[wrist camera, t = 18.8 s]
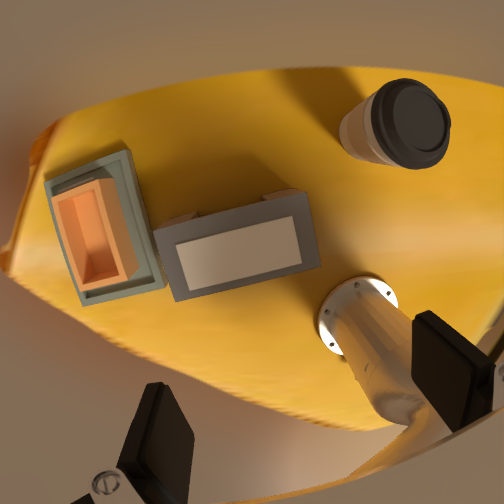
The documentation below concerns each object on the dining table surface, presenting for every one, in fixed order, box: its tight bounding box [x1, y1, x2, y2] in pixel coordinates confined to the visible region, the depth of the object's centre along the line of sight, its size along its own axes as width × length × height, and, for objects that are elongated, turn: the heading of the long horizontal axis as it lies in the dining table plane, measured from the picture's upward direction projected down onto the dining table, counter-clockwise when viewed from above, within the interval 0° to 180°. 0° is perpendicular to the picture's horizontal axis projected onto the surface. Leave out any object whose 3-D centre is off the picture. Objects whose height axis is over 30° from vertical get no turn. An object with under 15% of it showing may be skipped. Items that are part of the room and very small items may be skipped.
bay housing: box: [153, 188, 321, 302], centre depth 35 cm, size 16×8×8 cm, turn 104°
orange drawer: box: [51, 177, 140, 292], centre depth 35 cm, size 13×7×5 cm, turn 13°
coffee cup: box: [339, 78, 451, 170], centre depth 30 cm, size 9×9×15 cm
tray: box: [44, 149, 168, 307], centre depth 37 cm, size 18×13×2 cm
